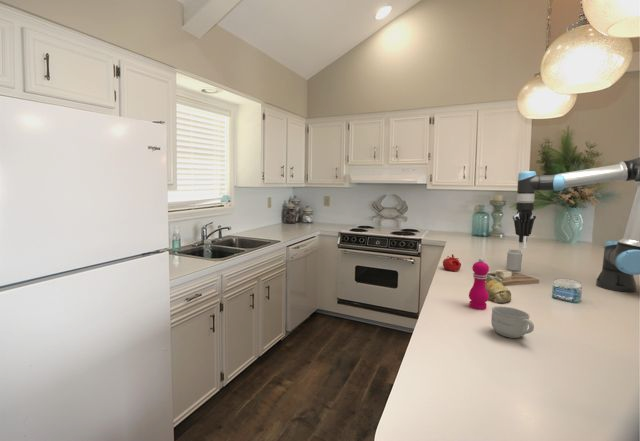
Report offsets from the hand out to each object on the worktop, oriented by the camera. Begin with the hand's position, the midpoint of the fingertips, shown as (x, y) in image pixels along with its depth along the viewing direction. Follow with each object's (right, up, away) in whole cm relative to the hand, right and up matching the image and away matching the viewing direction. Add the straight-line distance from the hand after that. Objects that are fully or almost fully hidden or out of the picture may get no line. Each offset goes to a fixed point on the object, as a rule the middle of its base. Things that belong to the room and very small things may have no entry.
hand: (522, 248), depth 174 cm
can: (+11, -15, +27) cm, 33 cm away
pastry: (-27, -20, -25) cm, 42 cm away
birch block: (-10, -15, -1) cm, 19 cm away
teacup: (-41, -23, -63) cm, 79 cm away
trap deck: (-6, -17, +4) cm, 18 cm away
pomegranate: (-27, -15, +24) cm, 39 cm away
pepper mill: (-40, -21, -37) cm, 58 cm away
